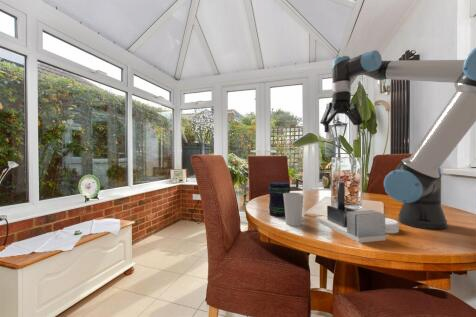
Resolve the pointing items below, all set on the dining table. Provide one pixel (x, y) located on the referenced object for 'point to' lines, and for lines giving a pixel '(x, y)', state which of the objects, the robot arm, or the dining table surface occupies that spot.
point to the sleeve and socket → (358, 221)
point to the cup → (293, 208)
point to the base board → (344, 231)
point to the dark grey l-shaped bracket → (341, 197)
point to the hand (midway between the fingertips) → (342, 139)
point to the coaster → (391, 226)
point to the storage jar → (277, 198)
